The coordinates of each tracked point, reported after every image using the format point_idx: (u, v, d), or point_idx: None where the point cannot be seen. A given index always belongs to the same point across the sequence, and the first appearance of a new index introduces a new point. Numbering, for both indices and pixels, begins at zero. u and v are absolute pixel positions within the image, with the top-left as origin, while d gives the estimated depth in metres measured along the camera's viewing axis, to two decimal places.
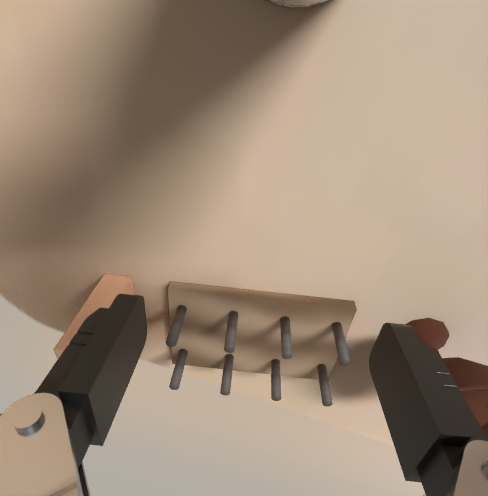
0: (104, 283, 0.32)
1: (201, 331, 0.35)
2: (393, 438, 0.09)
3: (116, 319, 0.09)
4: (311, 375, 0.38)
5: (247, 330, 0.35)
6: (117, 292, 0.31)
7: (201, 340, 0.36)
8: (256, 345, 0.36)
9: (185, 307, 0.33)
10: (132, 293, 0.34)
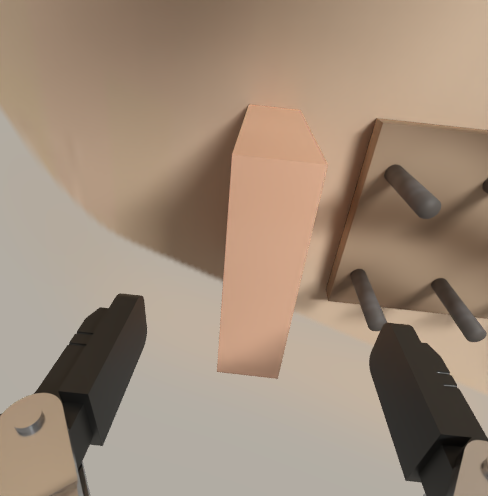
0: (258, 109, 0.16)
1: (409, 229, 0.19)
2: (393, 438, 0.09)
3: (116, 319, 0.09)
4: None
5: None
6: (296, 118, 0.15)
7: (401, 249, 0.20)
8: None
9: (403, 169, 0.17)
10: None
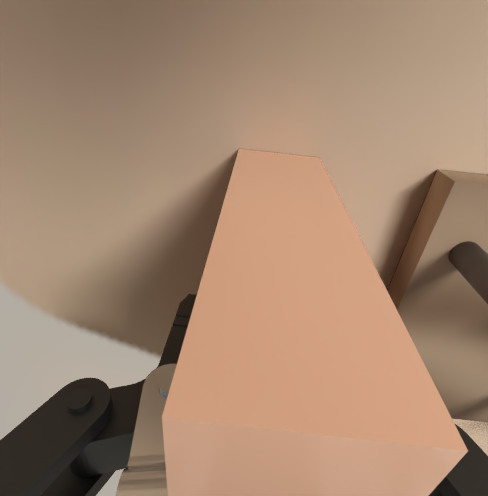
0: (254, 162, 0.10)
1: (477, 326, 0.13)
2: None
3: None
4: None
5: None
6: (317, 181, 0.09)
7: (463, 350, 0.14)
8: None
9: (481, 248, 0.11)
10: None
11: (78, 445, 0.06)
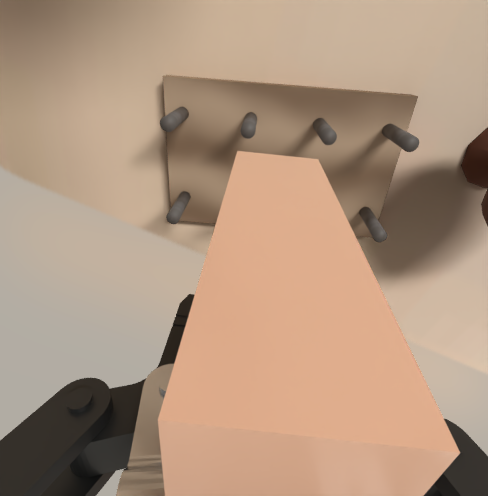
0: (252, 164, 0.10)
1: (207, 157, 0.27)
2: None
3: None
4: None
5: (268, 149, 0.26)
6: (315, 184, 0.09)
7: (208, 173, 0.28)
8: None
9: (186, 109, 0.25)
10: None
11: (78, 445, 0.06)
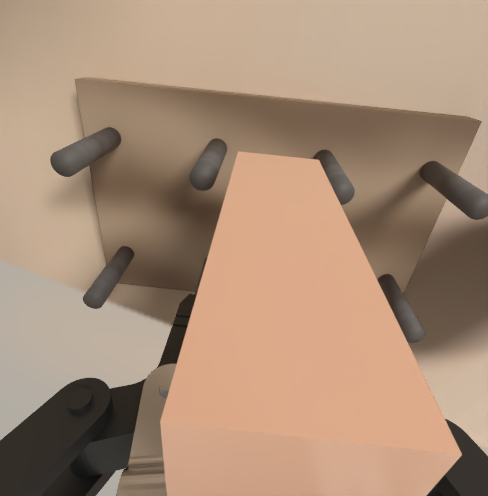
0: (252, 165, 0.10)
1: (155, 201, 0.18)
2: None
3: None
4: None
5: None
6: (316, 184, 0.09)
7: (157, 223, 0.19)
8: None
9: (117, 132, 0.16)
10: None
11: (78, 445, 0.06)
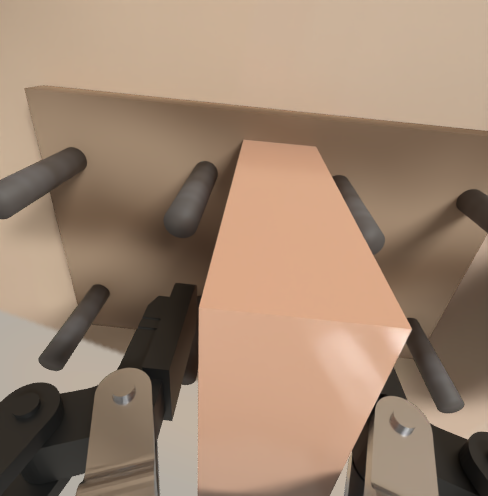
0: (257, 150, 0.11)
1: (131, 234, 0.15)
2: None
3: (179, 305, 0.10)
4: None
5: None
6: (313, 165, 0.10)
7: (135, 259, 0.16)
8: None
9: (81, 153, 0.13)
10: None
11: (29, 450, 0.06)
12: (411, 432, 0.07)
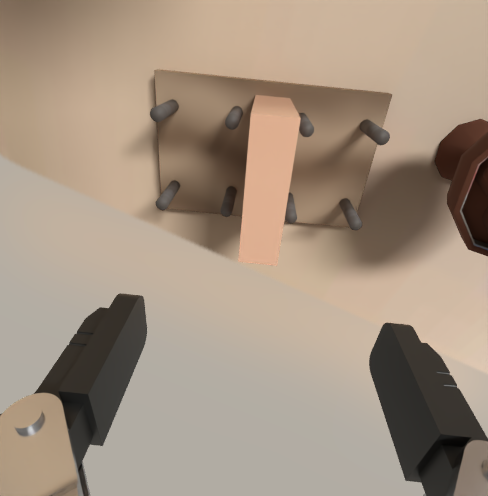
0: (262, 97, 0.25)
1: (196, 148, 0.28)
2: (393, 438, 0.09)
3: (116, 319, 0.09)
4: (331, 219, 0.31)
5: None
6: (286, 101, 0.24)
7: (197, 163, 0.29)
8: None
9: (176, 102, 0.27)
10: None
11: None
12: None
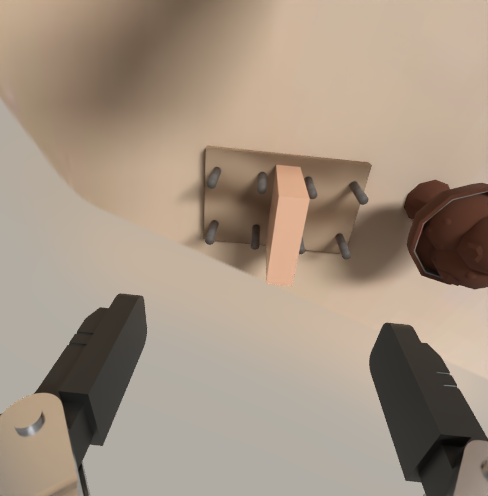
0: (281, 168, 0.36)
1: (232, 198, 0.40)
2: (394, 438, 0.09)
3: (116, 319, 0.09)
4: (329, 248, 0.42)
5: None
6: (298, 173, 0.35)
7: (231, 209, 0.40)
8: None
9: (220, 168, 0.38)
10: None
11: None
12: None
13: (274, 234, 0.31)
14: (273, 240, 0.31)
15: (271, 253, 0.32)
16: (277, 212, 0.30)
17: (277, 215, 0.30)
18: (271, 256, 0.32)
